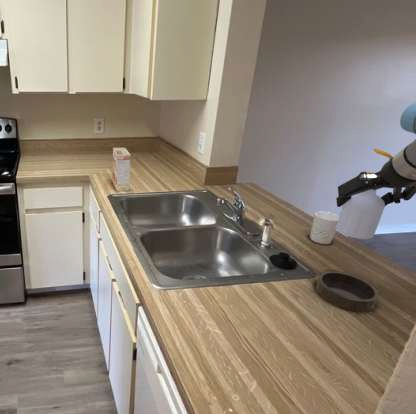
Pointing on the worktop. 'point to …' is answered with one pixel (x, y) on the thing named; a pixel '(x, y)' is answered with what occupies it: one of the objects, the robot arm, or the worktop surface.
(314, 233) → the white cup
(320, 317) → the worktop surface
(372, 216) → the soap bottle
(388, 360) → the worktop surface
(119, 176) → the coffeecake box
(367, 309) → the holder
